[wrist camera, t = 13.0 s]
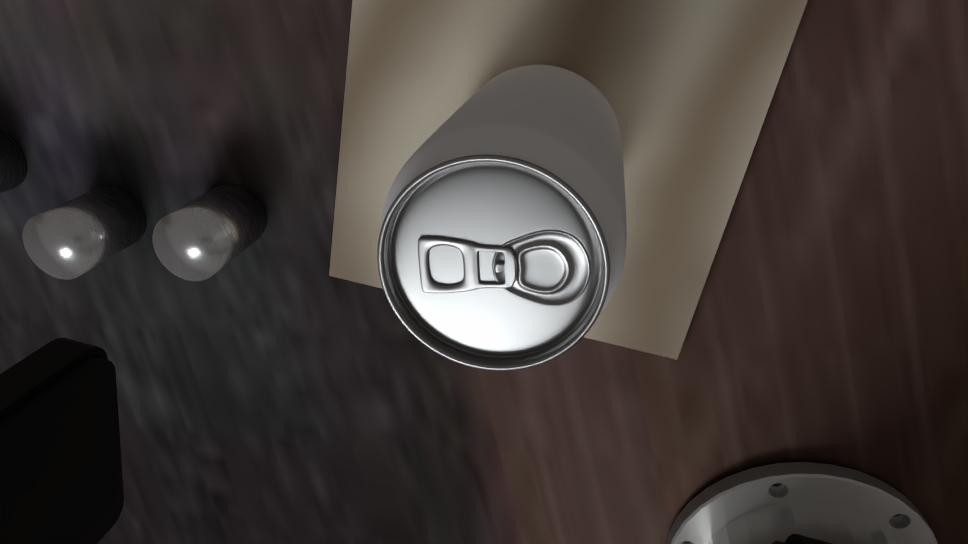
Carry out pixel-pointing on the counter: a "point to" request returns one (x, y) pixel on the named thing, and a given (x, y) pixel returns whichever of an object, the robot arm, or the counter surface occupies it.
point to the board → (630, 92)
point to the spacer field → (135, 227)
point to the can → (509, 222)
